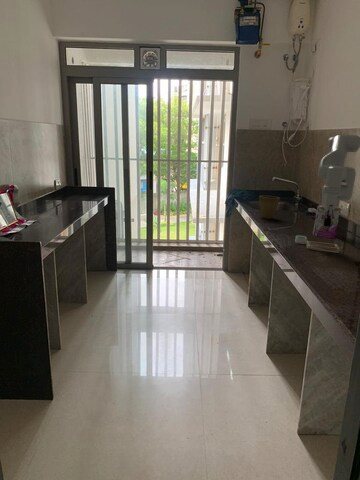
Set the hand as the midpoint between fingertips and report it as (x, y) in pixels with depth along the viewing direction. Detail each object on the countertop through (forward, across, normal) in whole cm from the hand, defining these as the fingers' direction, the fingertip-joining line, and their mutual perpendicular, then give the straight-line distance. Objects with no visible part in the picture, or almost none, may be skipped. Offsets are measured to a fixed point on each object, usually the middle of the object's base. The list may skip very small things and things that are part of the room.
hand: (326, 224), depth 190 cm
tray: (+13, 0, 0) cm, 13 cm away
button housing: (+13, -8, -10) cm, 19 cm away
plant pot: (+13, -73, -30) cm, 80 cm away
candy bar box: (+7, 0, 0) cm, 7 cm away
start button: (+13, -8, -10) cm, 18 cm away
